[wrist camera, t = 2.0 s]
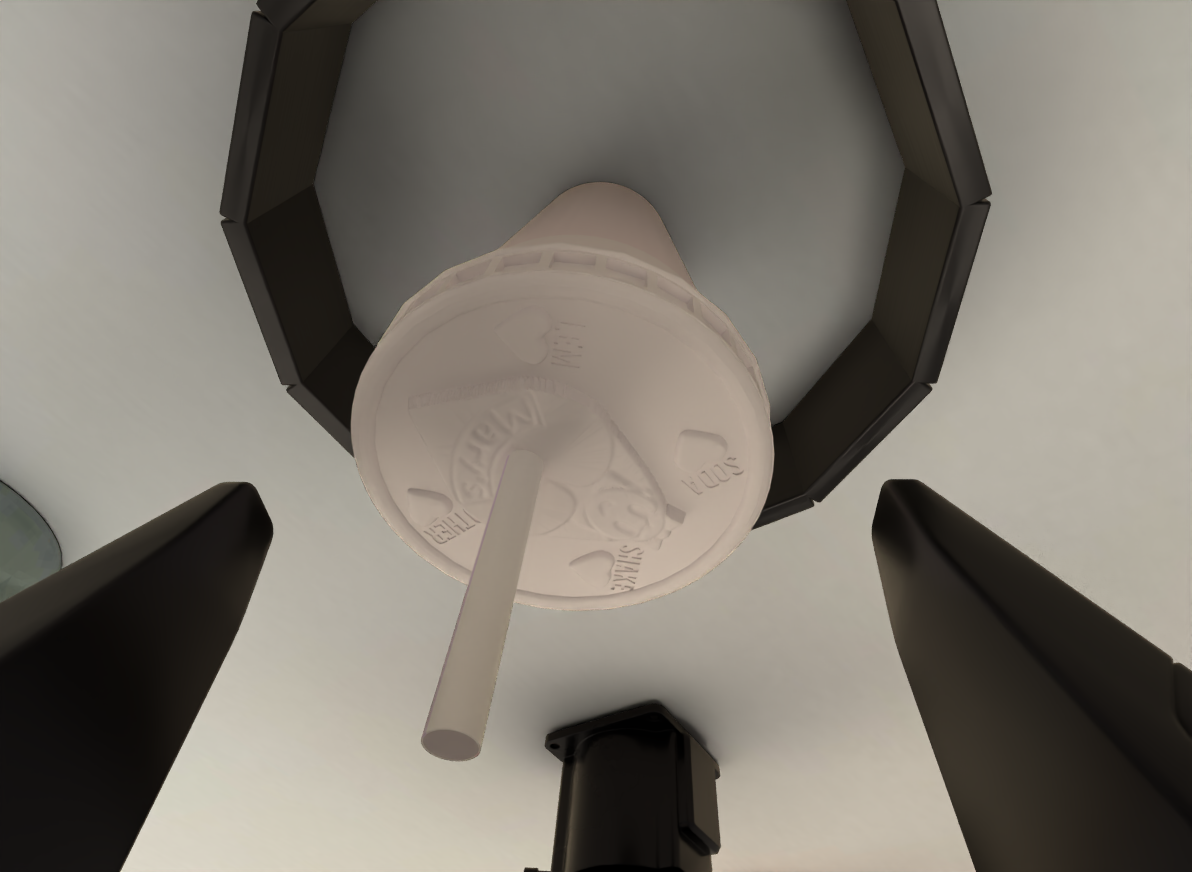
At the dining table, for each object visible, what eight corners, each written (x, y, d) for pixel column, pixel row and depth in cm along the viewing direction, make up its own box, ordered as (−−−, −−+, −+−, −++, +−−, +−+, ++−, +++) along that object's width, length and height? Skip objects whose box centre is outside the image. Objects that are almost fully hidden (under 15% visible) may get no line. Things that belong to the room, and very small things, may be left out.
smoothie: (552, 67, 15) (238, 338, 4) (771, 213, 17) (1040, 728, 5) (447, 288, 18) (112, 792, 7) (637, 392, 20) (618, 944, 8)
